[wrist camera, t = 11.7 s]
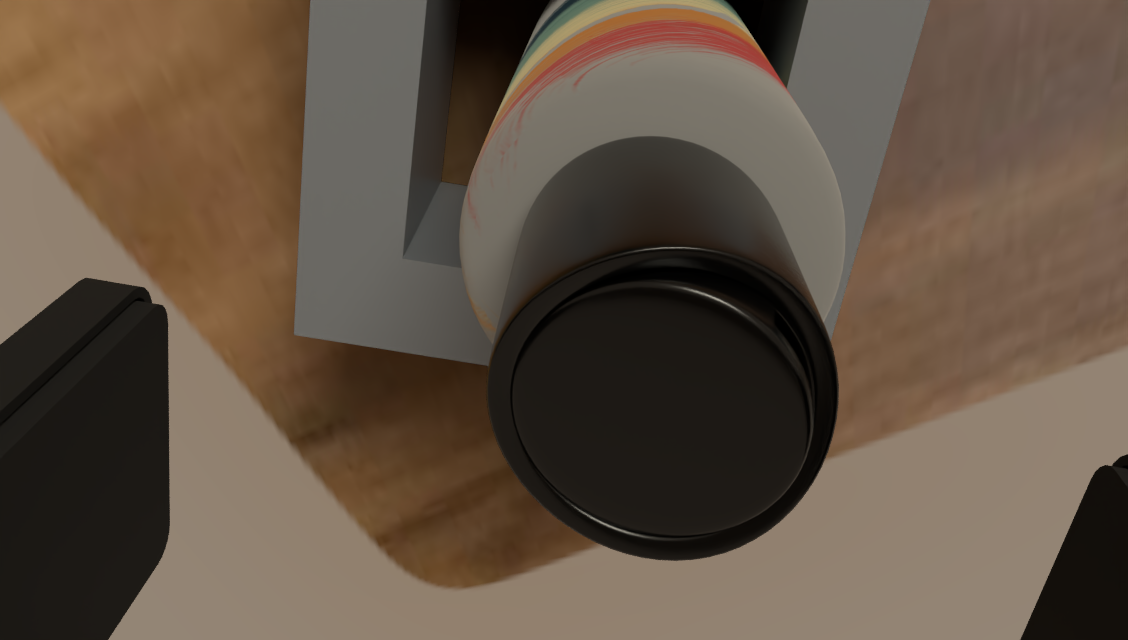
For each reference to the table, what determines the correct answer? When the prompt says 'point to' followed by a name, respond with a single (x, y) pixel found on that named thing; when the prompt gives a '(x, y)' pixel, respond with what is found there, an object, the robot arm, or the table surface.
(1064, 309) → the table surface
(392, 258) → the sleeve
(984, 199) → the table surface
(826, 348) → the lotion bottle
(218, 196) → the table surface
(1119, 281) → the table surface
